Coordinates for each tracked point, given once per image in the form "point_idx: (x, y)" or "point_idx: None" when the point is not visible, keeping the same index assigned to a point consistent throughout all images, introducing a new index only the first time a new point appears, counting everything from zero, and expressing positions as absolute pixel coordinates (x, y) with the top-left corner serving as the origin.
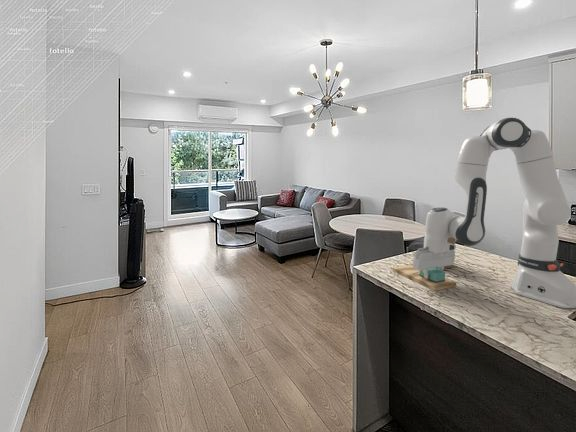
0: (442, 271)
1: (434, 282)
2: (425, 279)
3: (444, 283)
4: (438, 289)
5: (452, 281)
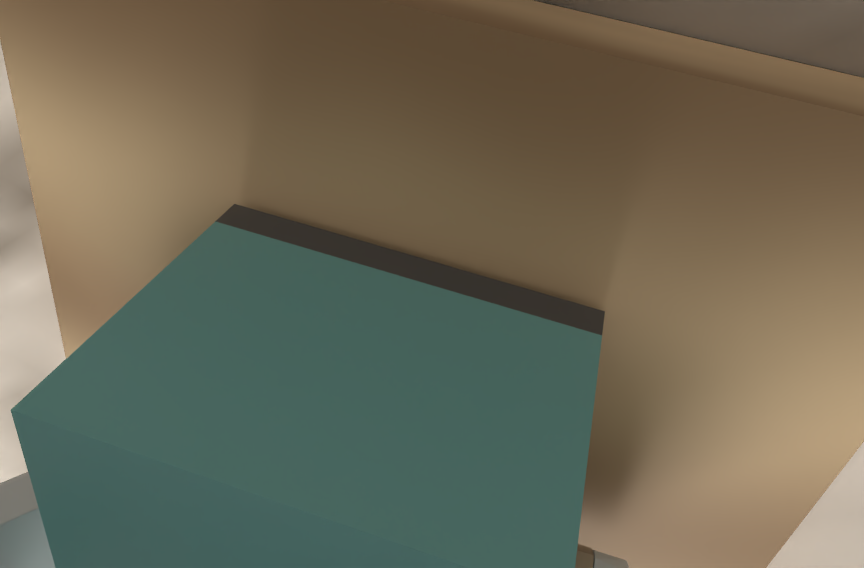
0: (92, 503)
1: None
2: None
3: (385, 126)
4: (830, 75)
5: (25, 52)
